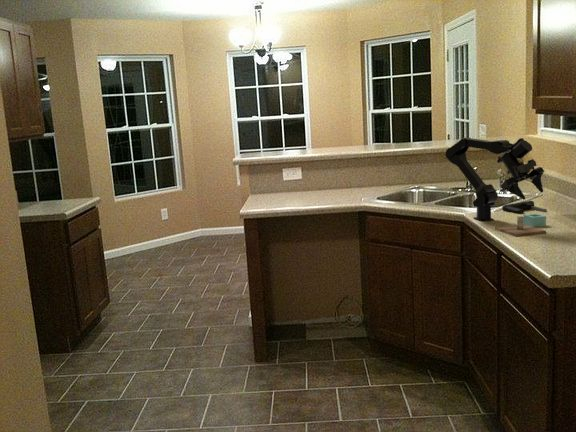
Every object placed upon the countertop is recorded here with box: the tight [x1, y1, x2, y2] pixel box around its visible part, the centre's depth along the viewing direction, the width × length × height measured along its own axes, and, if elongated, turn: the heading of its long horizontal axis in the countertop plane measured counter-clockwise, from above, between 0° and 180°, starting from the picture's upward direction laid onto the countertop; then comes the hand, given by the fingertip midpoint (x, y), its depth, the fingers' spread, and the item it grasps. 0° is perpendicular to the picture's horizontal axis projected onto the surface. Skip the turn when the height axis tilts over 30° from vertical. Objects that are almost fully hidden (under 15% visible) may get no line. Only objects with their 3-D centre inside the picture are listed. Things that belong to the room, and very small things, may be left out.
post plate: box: [494, 215, 547, 237], centre depth 241 cm, size 14×14×6 cm
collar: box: [522, 213, 547, 228], centre depth 252 cm, size 6×6×4 cm
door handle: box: [501, 200, 548, 215], centre depth 283 cm, size 3×20×16 cm
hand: (533, 195), depth 244 cm, fingers open, 9 cm apart
